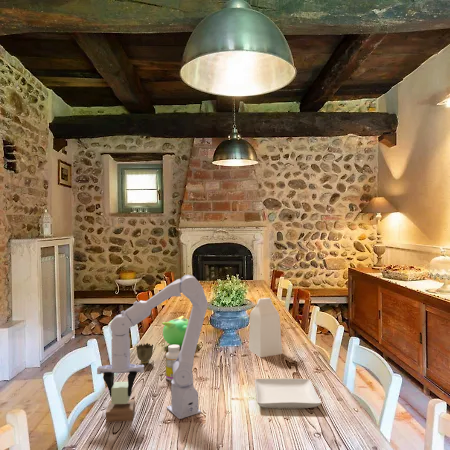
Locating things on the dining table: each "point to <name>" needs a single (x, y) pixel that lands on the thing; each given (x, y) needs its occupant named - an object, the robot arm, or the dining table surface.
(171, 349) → the supplement bottle
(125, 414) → the walnut block
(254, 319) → the milk
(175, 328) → the green rounded piece
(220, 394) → the dining table surface
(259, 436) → the dining table surface
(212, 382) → the dining table surface
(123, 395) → the green cube
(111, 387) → the robot arm
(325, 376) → the dining table surface
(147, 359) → the cup
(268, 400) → the salad plate
